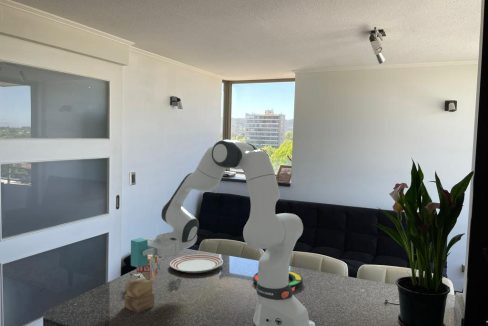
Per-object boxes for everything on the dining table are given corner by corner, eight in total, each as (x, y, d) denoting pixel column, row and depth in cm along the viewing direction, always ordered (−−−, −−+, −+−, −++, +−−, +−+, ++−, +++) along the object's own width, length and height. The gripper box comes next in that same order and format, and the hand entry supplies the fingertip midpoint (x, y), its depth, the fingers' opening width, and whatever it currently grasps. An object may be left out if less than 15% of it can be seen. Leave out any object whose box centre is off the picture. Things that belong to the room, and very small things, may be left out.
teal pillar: (147, 264, 148) (147, 239, 147) (138, 267, 144) (138, 242, 143) (140, 262, 150) (140, 237, 150) (130, 265, 147) (130, 240, 146)
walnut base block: (154, 306, 149) (154, 293, 149) (137, 313, 142) (137, 300, 142) (140, 300, 153) (140, 288, 153) (124, 307, 147) (124, 295, 147)
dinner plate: (164, 276, 182) (164, 269, 182) (176, 258, 209) (176, 253, 209) (220, 277, 181) (220, 271, 181) (225, 260, 208) (225, 254, 208)
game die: (132, 300, 162) (118, 282, 161) (145, 287, 169) (131, 270, 168) (143, 295, 157) (128, 276, 156) (156, 282, 164) (142, 264, 163)
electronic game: (307, 279, 180) (307, 269, 180) (295, 297, 159) (295, 286, 159) (262, 272, 189) (262, 263, 189) (245, 288, 168) (245, 278, 168)
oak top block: (152, 293, 148) (152, 281, 148) (138, 299, 143) (138, 286, 142) (140, 289, 152) (140, 277, 152) (126, 295, 147) (126, 282, 147)
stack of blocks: (147, 269, 192) (147, 245, 191) (159, 269, 192) (159, 245, 191) (136, 285, 170) (136, 258, 170) (150, 285, 170) (150, 258, 170)
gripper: (148, 232, 163) (121, 239, 152) (181, 240, 151) (154, 248, 140) (148, 247, 163) (121, 254, 152) (181, 256, 151) (154, 265, 140)
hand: (137, 251), depth 146 cm, fingers closed on teal pillar, 4 cm apart
